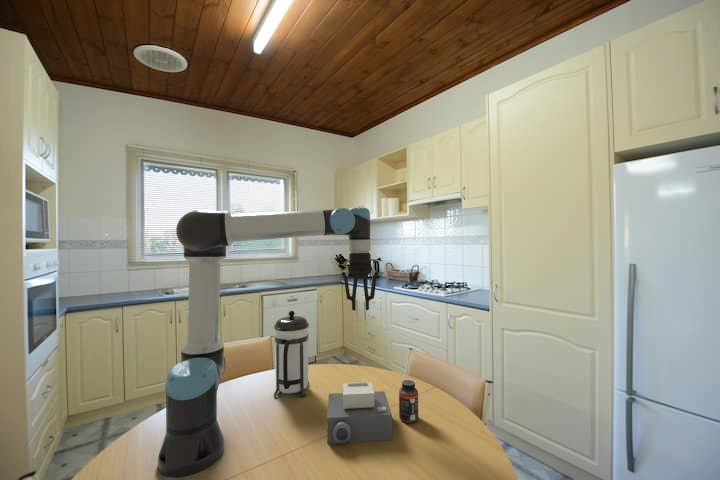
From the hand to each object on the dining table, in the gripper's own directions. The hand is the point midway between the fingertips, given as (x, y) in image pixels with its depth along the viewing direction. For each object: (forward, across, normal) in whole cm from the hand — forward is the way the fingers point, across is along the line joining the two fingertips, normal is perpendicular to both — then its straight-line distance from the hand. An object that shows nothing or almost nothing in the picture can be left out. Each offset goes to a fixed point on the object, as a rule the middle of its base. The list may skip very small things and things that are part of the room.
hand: (360, 319), depth 109 cm
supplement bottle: (+29, -14, +12) cm, 34 cm away
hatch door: (+21, +2, +15) cm, 26 cm away
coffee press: (+29, +25, -9) cm, 39 cm away
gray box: (+28, +2, +16) cm, 33 cm away
